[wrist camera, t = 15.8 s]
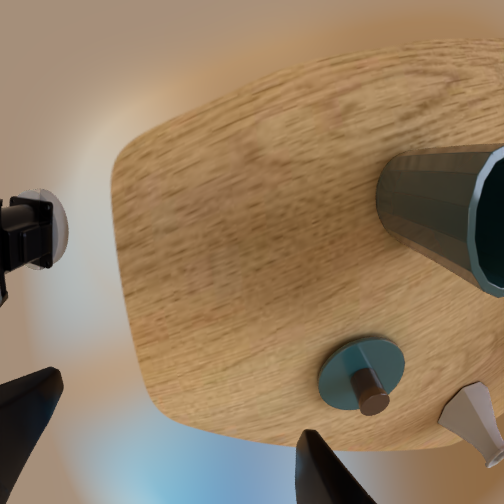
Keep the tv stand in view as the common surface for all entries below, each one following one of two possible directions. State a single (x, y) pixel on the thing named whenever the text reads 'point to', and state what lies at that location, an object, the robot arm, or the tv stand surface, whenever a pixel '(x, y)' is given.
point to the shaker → (449, 209)
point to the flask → (475, 422)
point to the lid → (362, 375)
